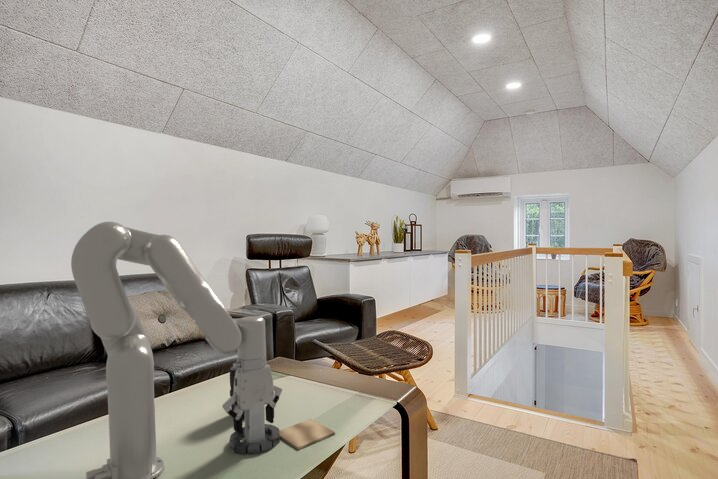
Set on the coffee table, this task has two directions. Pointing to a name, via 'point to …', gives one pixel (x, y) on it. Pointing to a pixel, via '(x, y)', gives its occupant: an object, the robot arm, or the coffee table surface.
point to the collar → (257, 446)
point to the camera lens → (232, 377)
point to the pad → (305, 434)
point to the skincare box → (255, 423)
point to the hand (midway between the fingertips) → (254, 426)
